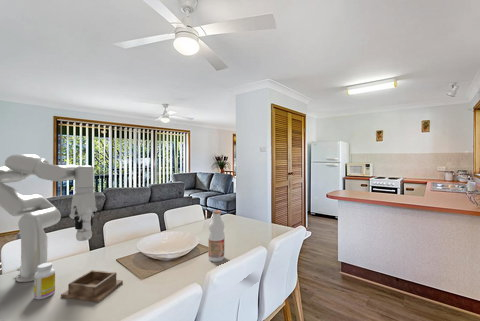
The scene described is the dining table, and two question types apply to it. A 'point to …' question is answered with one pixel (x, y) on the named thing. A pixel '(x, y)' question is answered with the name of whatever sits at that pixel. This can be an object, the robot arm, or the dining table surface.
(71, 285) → the walnut caddy
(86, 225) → the plastic bottle
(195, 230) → the dining table surface
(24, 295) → the dining table surface
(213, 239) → the fruit juice
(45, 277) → the supplement bottle
